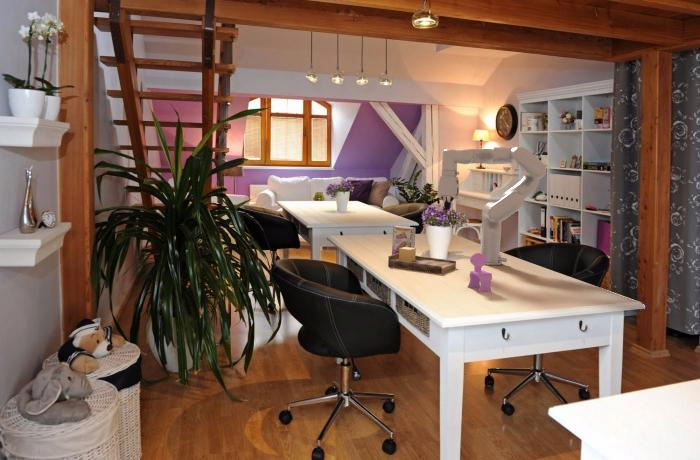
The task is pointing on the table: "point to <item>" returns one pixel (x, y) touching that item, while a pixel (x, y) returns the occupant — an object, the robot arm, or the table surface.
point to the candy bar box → (403, 238)
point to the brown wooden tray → (423, 264)
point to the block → (407, 254)
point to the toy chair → (479, 273)
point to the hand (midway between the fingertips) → (447, 209)
